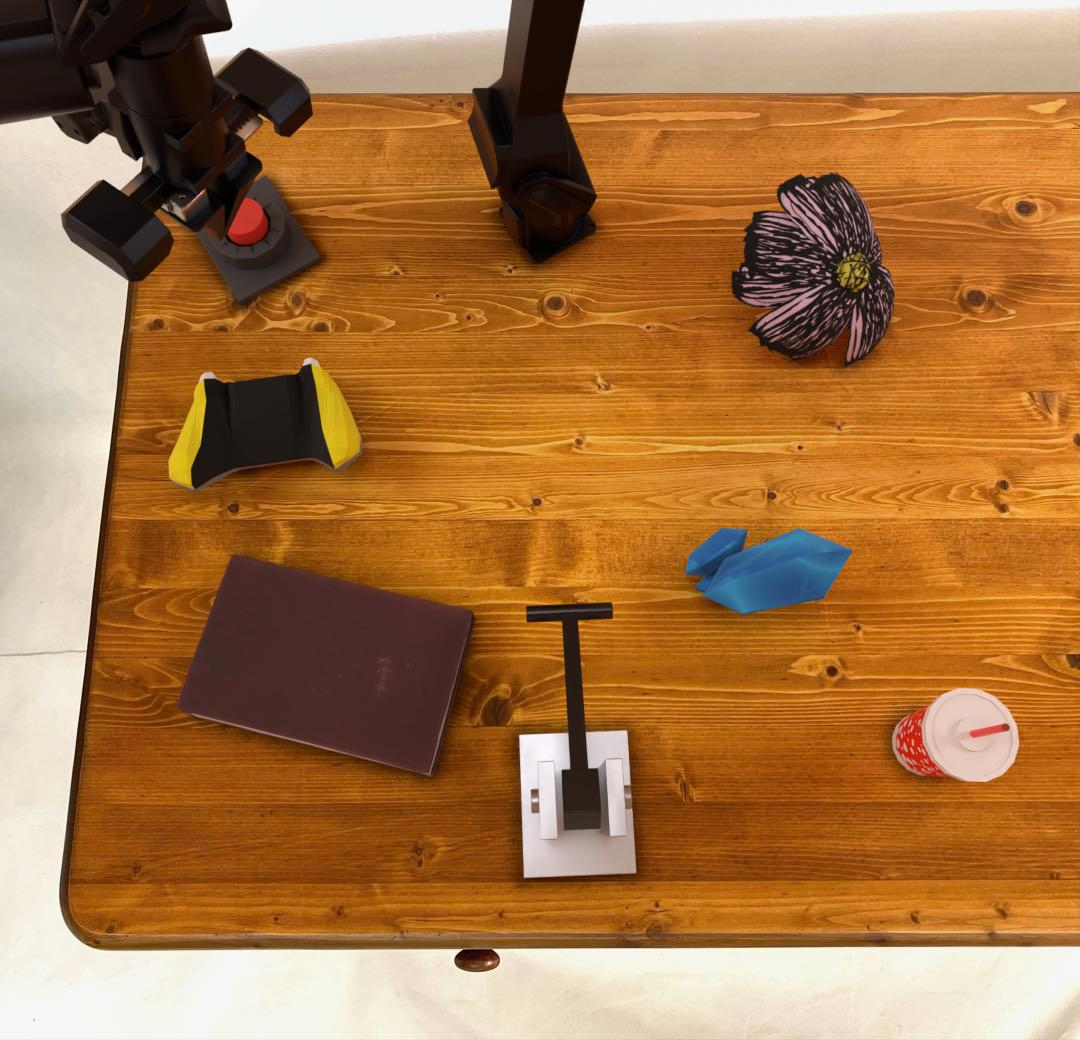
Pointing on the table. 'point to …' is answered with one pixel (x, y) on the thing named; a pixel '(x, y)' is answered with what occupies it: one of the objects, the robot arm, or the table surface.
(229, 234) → the button
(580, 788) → the lever
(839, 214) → the decorative flower
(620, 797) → the bracket
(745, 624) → the table surface
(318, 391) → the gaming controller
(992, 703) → the beverage cup
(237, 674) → the book
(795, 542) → the crystal
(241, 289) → the control block
